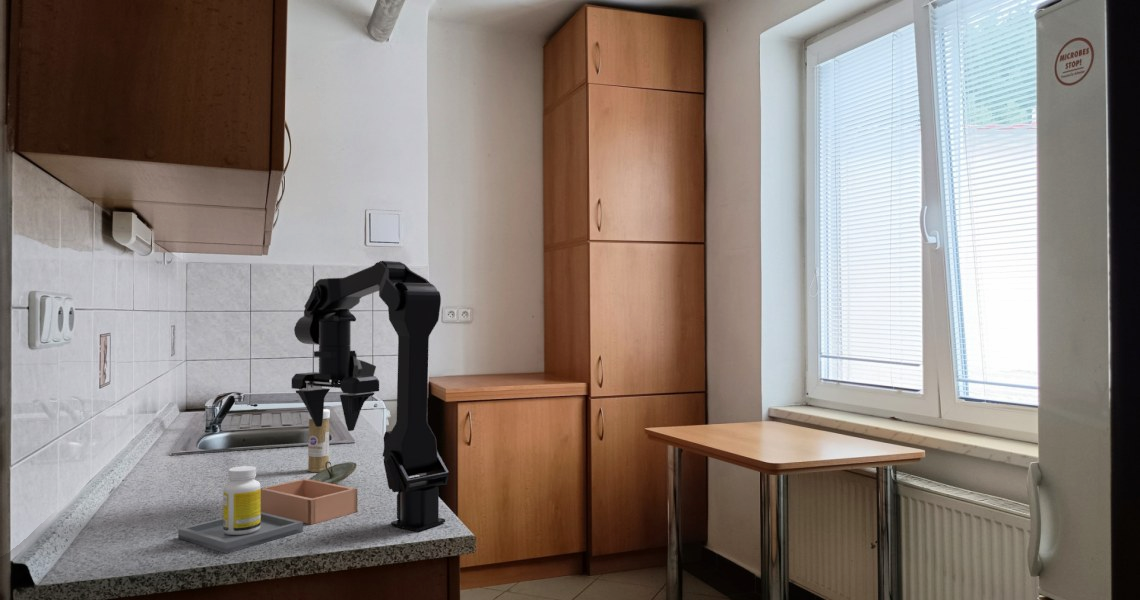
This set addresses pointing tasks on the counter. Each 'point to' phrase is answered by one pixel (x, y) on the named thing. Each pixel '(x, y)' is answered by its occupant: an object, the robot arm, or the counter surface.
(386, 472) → the robot arm
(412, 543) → the counter surface
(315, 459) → the sprinkles bottle
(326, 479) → the lid
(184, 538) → the tray
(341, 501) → the holder
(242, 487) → the supplement bottle
